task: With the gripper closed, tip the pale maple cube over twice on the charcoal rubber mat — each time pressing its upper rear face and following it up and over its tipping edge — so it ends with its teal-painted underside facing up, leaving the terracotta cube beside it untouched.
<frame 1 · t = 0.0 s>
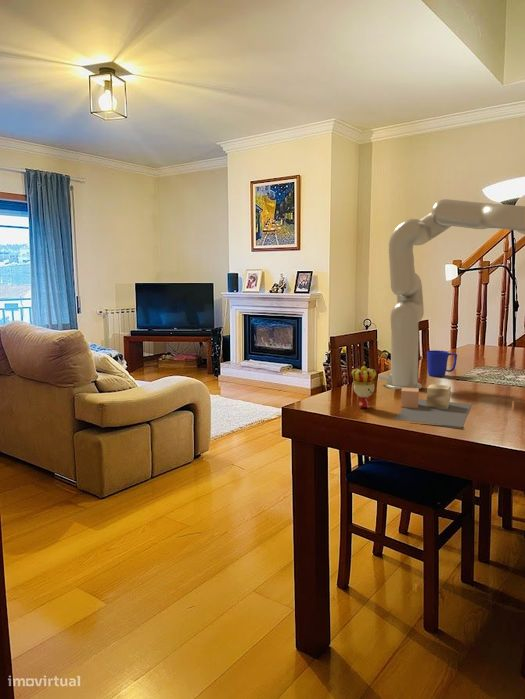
toy: (363, 410, 155), on the table
terracotta block: (409, 405, 157), point 1 cm above the table, touching mat
maple block: (438, 406, 156), point 1 cm above the table, touching mat
mug: (441, 376, 210), on the table
mat: (434, 413, 150), on the table
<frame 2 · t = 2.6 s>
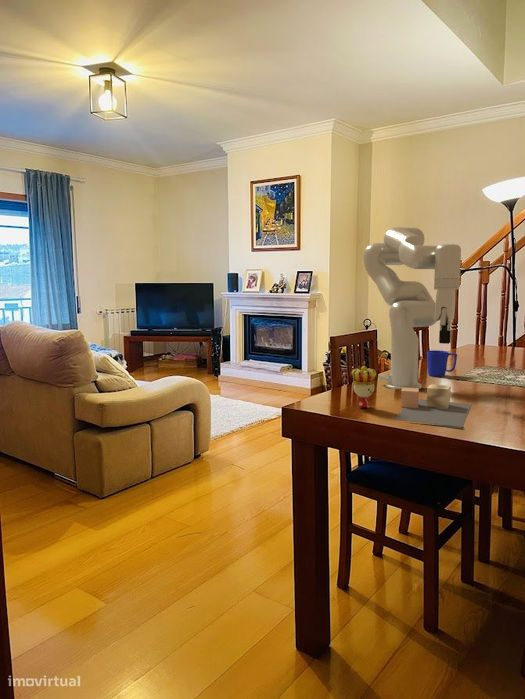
hand: (444, 343, 161), 19 cm above the table, fingers closed
nothing on the table moved.
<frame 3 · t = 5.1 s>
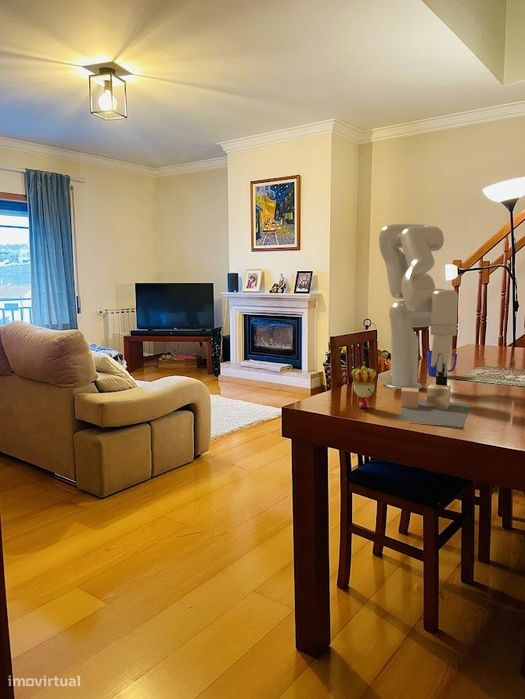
hand: (441, 388, 159), 5 cm above the table, fingers closed
maple block: (438, 406, 156), point 1 cm above the table, touching gripper, mat
everything else where it was.
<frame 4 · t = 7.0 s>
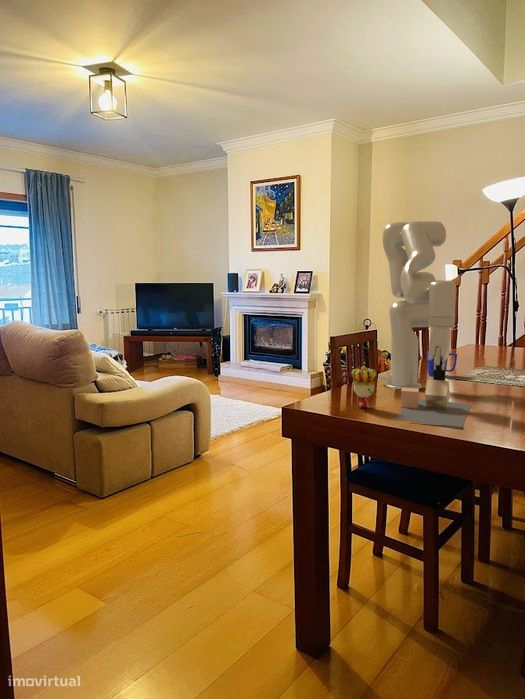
hand: (439, 382, 155), 8 cm above the table, fingers closed
maple block: (438, 400, 155), point 2 cm above the table, tilted 38°, touching gripper, mat
everything else where it was.
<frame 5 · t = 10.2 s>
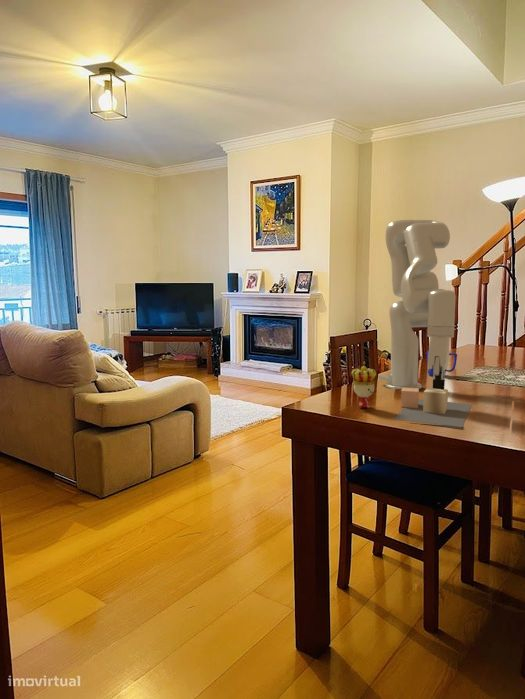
hand: (438, 392, 154), 5 cm above the table, fingers closed
maple block: (437, 398, 153), point 4 cm above the table, tilted 90°, touching gripper, mat
everything else where it was.
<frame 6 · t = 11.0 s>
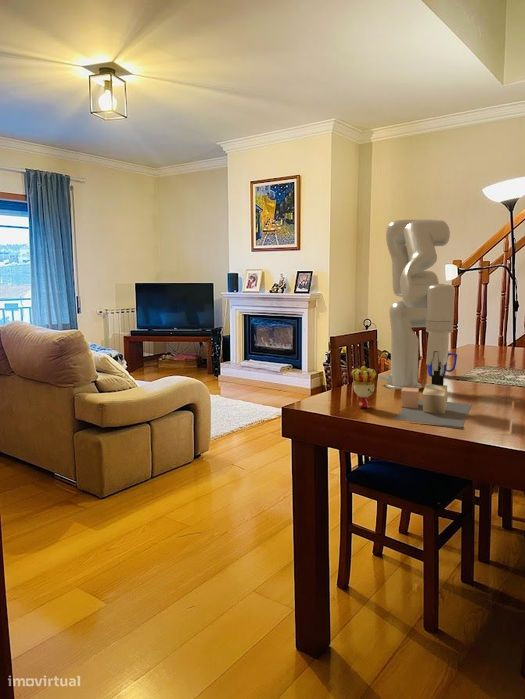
hand: (437, 388, 152), 7 cm above the table, fingers closed
maple block: (436, 393, 152), point 5 cm above the table, tilted 109°, touching gripper, mat
everything else where it was.
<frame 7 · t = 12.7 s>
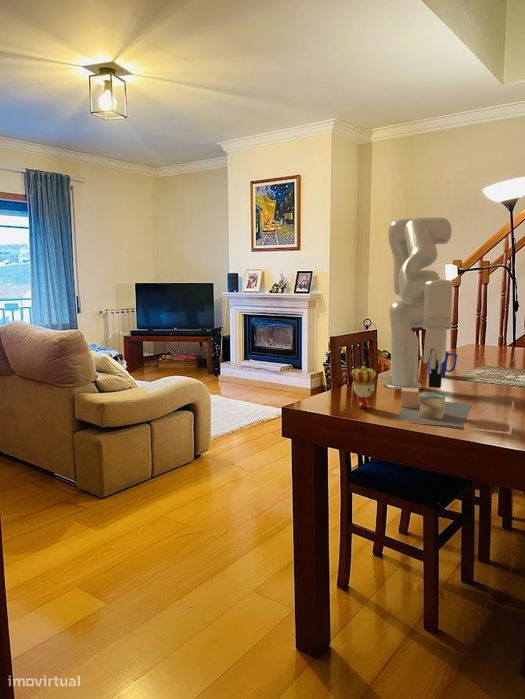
hand: (434, 387, 147), 8 cm above the table, fingers closed
maple block: (432, 394, 145), point 7 cm above the table, tilted 180°, touching mat
everything else where it was.
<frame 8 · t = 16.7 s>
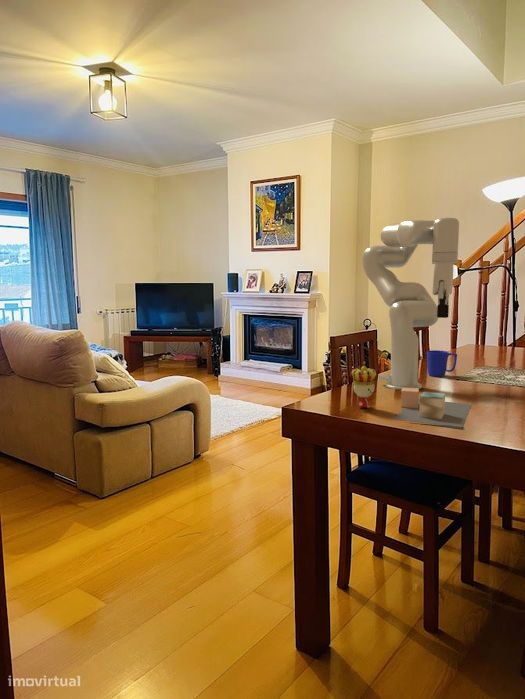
hand: (442, 317, 162), 27 cm above the table, fingers closed
nothing on the table moved.
at the end: maple block tilted 180°; maple block inside the target area (0.0 cm from its centre), point 6.6 cm above the table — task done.
